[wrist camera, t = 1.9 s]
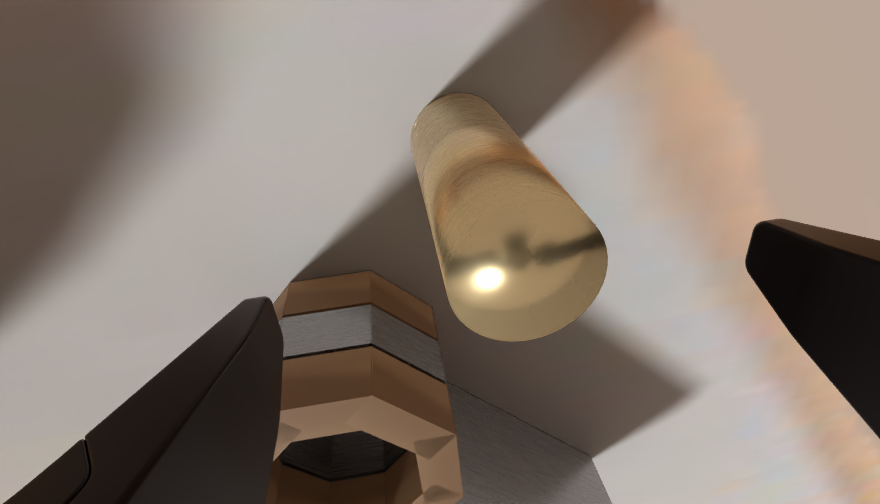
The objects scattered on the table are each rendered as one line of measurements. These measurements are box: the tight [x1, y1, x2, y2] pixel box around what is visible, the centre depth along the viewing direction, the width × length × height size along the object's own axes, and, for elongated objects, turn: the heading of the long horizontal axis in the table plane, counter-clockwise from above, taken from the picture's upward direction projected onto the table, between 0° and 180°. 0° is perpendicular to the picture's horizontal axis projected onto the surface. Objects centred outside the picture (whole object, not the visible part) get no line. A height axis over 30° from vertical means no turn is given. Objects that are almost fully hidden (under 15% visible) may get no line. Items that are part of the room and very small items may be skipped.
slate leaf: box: [279, 304, 612, 504], centre depth 19 cm, size 18×7×6 cm, turn 50°
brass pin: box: [411, 93, 608, 342], centre depth 12 cm, size 3×3×8 cm
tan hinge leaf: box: [265, 271, 464, 504], centre depth 19 cm, size 18×7×6 cm, turn 140°
